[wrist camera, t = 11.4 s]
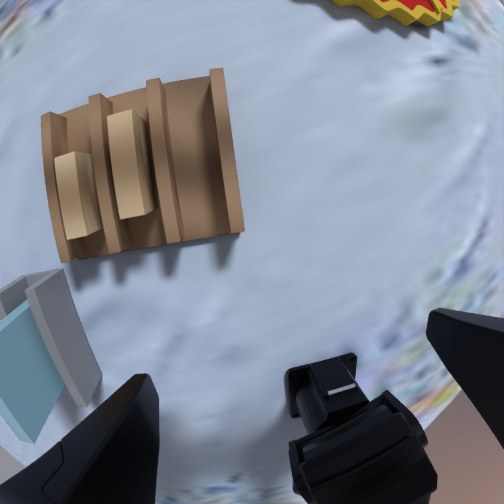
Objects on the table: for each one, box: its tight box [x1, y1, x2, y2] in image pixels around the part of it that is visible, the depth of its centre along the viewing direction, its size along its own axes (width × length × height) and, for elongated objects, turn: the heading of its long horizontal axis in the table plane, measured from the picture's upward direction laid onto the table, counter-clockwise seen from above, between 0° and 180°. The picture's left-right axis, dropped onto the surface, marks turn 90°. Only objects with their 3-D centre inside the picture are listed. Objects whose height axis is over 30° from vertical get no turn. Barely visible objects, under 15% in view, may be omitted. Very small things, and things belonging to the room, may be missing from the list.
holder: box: [0, 268, 102, 407], centre depth 17 cm, size 10×5×4 cm, turn 8°
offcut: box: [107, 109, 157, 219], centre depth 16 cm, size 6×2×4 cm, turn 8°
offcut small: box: [54, 151, 103, 240], centre depth 15 cm, size 5×2×4 cm, turn 8°
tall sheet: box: [0, 299, 65, 444], centre depth 14 cm, size 7×2×10 cm, turn 7°
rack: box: [41, 68, 245, 263], centre depth 16 cm, size 11×12×3 cm
